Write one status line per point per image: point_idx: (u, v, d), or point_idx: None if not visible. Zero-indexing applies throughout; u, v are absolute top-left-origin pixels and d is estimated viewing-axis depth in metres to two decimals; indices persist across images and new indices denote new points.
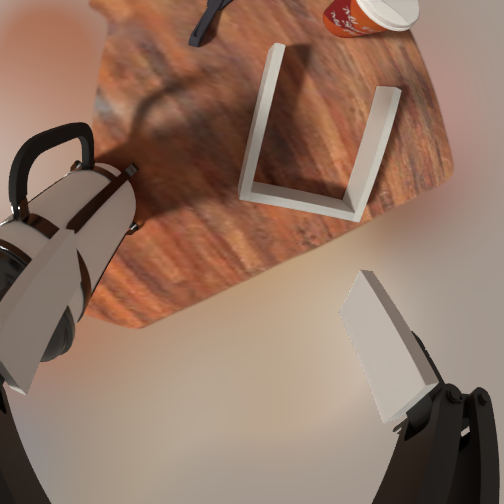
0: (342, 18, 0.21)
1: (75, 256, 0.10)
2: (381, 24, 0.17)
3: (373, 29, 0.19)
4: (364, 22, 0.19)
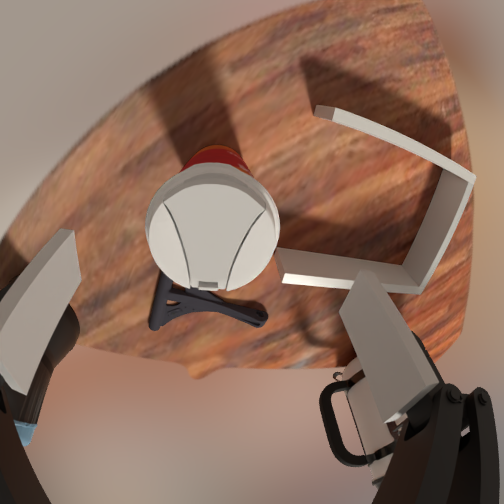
0: None
1: (75, 256, 0.10)
2: (275, 245, 0.16)
3: None
4: None
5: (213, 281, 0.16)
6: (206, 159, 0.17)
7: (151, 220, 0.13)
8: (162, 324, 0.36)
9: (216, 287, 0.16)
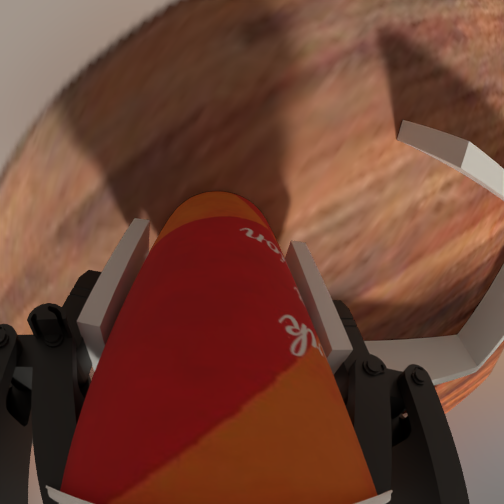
0: None
1: (148, 244, 0.12)
2: None
3: None
4: None
5: None
6: (181, 322, 0.05)
7: None
8: None
9: None
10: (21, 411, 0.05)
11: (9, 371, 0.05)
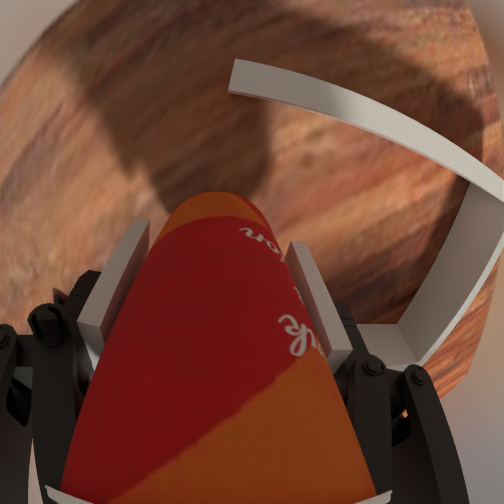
0: None
1: (148, 244, 0.12)
2: None
3: None
4: None
5: None
6: (180, 322, 0.05)
7: None
8: None
9: None
10: (21, 411, 0.05)
11: (9, 371, 0.05)
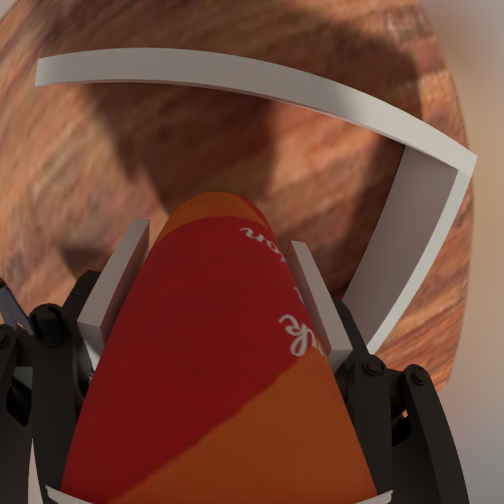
0: None
1: (148, 244, 0.12)
2: None
3: None
4: None
5: None
6: (181, 322, 0.05)
7: None
8: None
9: None
10: (21, 411, 0.05)
11: (9, 371, 0.05)
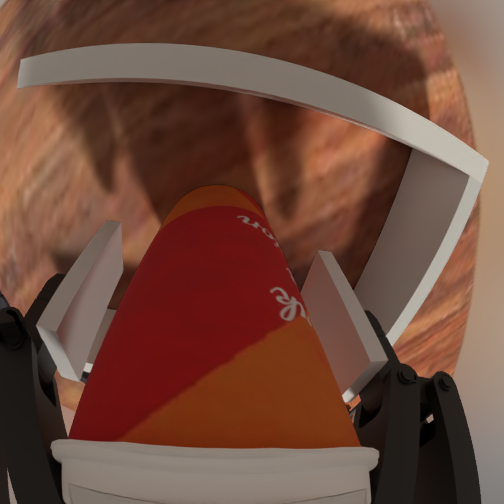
0: None
1: (120, 247, 0.12)
2: None
3: None
4: None
5: None
6: (183, 289, 0.06)
7: None
8: None
9: None
10: None
11: None
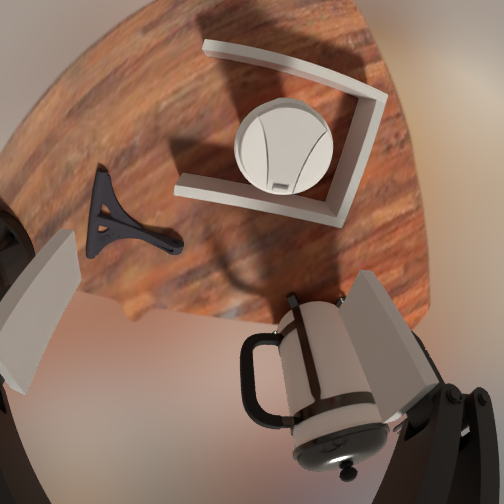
0: None
1: (75, 256, 0.10)
2: None
3: None
4: None
5: (285, 183, 0.20)
6: None
7: (247, 129, 0.18)
8: (96, 253, 0.38)
9: (286, 189, 0.20)
10: None
11: None
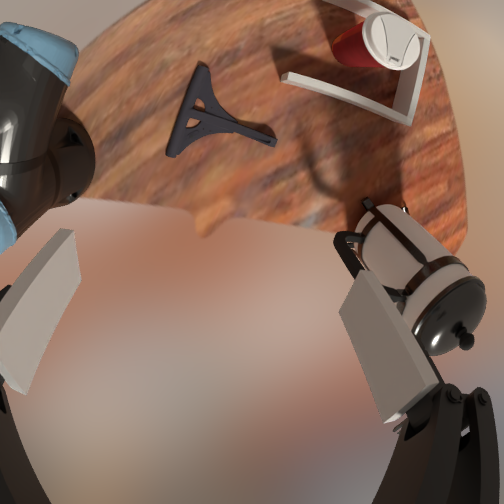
0: None
1: (75, 256, 0.10)
2: None
3: None
4: None
5: (396, 58, 0.21)
6: None
7: (374, 20, 0.18)
8: (179, 152, 0.38)
9: (398, 61, 0.21)
10: None
11: None
